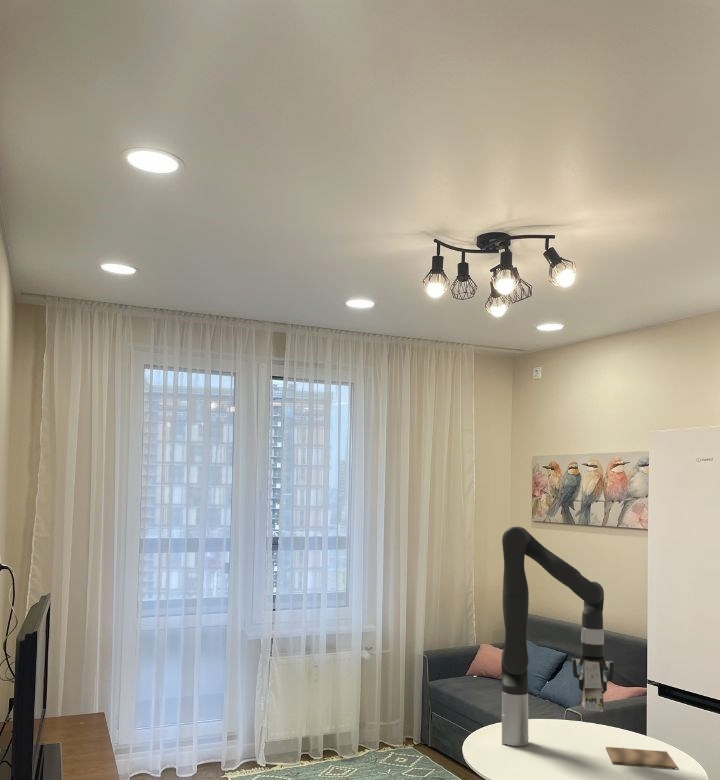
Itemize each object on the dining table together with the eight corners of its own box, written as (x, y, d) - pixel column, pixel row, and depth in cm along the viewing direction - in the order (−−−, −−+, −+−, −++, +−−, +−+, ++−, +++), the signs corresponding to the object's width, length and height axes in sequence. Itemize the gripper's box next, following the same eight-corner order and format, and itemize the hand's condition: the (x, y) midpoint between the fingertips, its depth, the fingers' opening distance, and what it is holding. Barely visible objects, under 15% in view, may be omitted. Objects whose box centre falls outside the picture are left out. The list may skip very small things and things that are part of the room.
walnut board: (612, 763, 247) (612, 761, 247) (605, 749, 262) (605, 746, 262) (677, 769, 244) (676, 766, 244) (666, 754, 258) (666, 751, 258)
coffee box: (604, 712, 252) (603, 662, 254) (584, 710, 253) (583, 660, 255) (601, 705, 261) (600, 656, 263) (581, 703, 262) (581, 655, 264)
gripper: (572, 641, 257) (572, 692, 255) (616, 645, 255) (616, 696, 253) (569, 637, 265) (569, 687, 262) (612, 640, 262) (612, 690, 260)
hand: (592, 691), depth 258 cm, fingers closed on coffee box, 6 cm apart
